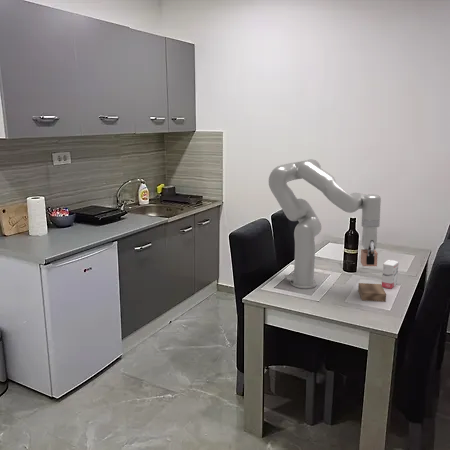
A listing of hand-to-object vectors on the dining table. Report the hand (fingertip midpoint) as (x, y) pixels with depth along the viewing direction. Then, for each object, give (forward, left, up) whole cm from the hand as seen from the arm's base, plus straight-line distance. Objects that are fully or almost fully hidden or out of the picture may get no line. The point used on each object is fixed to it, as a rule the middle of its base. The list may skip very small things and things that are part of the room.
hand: (368, 261), depth 198 cm
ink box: (+13, +14, -17) cm, 26 cm away
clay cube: (0, 0, -1) cm, 1 cm away
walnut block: (+2, 0, -17) cm, 17 cm away
